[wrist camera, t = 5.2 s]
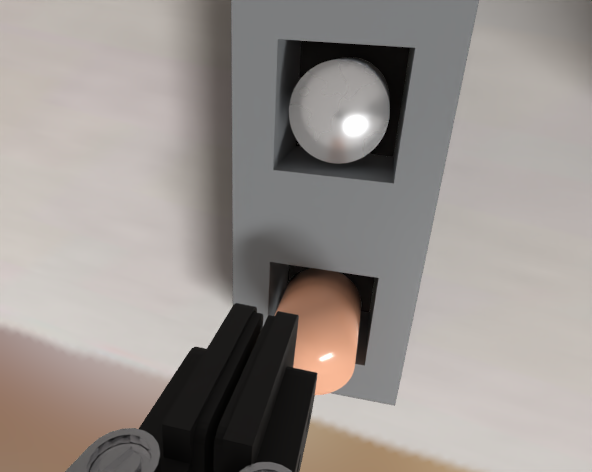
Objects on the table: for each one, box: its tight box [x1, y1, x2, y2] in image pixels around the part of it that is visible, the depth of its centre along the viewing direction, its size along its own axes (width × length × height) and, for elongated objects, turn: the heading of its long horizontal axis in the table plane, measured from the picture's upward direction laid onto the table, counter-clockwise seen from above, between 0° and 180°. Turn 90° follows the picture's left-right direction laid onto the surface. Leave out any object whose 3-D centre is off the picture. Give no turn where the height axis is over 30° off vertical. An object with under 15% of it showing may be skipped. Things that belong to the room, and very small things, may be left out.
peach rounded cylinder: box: [274, 268, 362, 395], centre depth 25 cm, size 5×5×6 cm
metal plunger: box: [289, 57, 390, 164], centre depth 24 cm, size 5×5×6 cm
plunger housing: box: [231, 0, 479, 406], centre depth 26 cm, size 11×24×6 cm, turn 177°
